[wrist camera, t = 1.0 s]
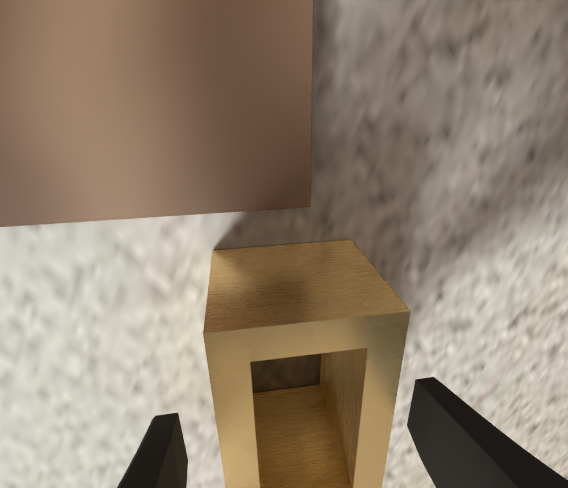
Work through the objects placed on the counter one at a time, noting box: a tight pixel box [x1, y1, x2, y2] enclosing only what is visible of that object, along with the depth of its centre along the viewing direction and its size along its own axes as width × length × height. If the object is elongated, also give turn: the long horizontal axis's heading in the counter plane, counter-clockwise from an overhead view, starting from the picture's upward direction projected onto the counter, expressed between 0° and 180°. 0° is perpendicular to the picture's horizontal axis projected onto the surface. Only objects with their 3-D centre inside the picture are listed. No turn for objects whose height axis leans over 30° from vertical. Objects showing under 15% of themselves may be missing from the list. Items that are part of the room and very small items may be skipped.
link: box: [203, 240, 410, 488], centre depth 12 cm, size 8×5×4 cm, turn 1°
